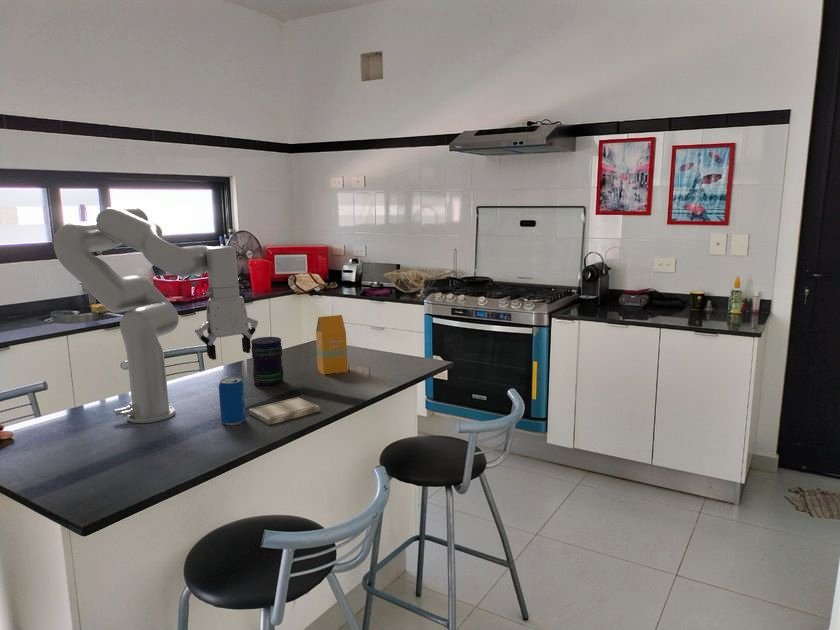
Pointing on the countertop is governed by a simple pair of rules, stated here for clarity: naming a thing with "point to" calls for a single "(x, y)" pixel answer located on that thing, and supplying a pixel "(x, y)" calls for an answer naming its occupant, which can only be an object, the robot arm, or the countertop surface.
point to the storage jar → (267, 361)
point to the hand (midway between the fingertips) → (229, 355)
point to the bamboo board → (283, 410)
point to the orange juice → (331, 345)
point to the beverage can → (232, 401)
